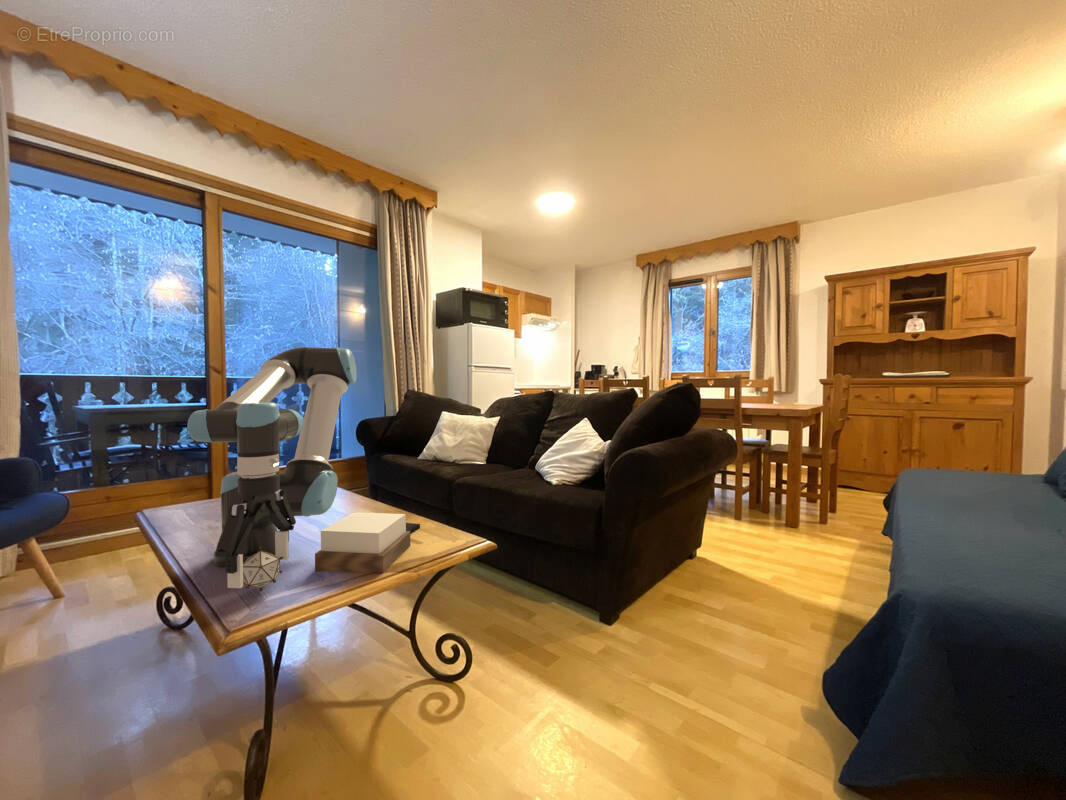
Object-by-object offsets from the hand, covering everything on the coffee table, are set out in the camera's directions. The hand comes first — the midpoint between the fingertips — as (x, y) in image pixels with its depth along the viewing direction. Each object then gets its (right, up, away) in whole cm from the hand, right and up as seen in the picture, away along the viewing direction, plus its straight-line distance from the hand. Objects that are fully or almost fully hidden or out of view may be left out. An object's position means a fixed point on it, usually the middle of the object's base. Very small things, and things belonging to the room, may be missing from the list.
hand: (260, 572), depth 89 cm
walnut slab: (+16, -4, +18) cm, 24 cm away
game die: (0, -5, 0) cm, 5 cm away
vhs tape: (+18, -4, +35) cm, 39 cm away
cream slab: (+16, +1, +18) cm, 24 cm away
